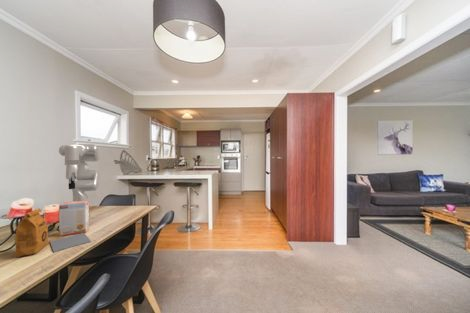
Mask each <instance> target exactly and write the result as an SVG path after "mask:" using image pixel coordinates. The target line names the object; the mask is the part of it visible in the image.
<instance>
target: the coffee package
mask: <svg viewBox="0 0 470 313" xmlns="http://www.w3.org/2000/svg"><path fill="white" fill-rule="evenodd" d="M42 211H43V210H42V209H41V208H36V209H35V210H32V211H29V212H27V213H26V214H25V215H24V216H23V217H22V219H21V220H20V221H19V223H18V224H17V226H16V231H15V244H14V245H15V258H20V257H24V256H28V255H29V256H30V255H33V254H37V253H39V251H41V250H43V249H44V248H46V246H48V244H49V236H48V235H49V234H48V232H49V226H48V222H46V220H45V219H44V218H43V217H42V215H41V213H42Z"/></svg>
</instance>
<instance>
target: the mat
mask: <svg viewBox="0 0 470 313" xmlns="http://www.w3.org/2000/svg"><path fill="white" fill-rule="evenodd" d="M88 243H92V241H91V239H90V238H89V236H88V235H87V234H86V233H80V234H72V235H68V236H66V237H62V238H59V239H54V240H51V241H49V244H50V247H51V249H52V251H53V253H58V252H60V251H64V250H68V249H70V248H74V247H77V246H81V245H85V244H88Z"/></svg>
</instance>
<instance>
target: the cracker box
mask: <svg viewBox="0 0 470 313" xmlns="http://www.w3.org/2000/svg"><path fill="white" fill-rule="evenodd" d="M89 201H90V200H88V201H77V202H73V201H66V202H62V203H60V204H58V205H59V211H58V212H59V214H58V215H59V216H58V217H59V221H58V223H59V224H58V225H59V226H58V227H59V229H58V230H59V231H58V235H59V237H64V236H73V235H77V234H81V233H85V234H86V233H87V232H88V231H89V230H90V224H89V223H90V222H89V221H90V217H89V215H90V214H89V212H90V209H89V208H90V204H89V203H90V202H89Z"/></svg>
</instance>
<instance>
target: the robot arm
mask: <svg viewBox="0 0 470 313" xmlns="http://www.w3.org/2000/svg"><path fill="white" fill-rule="evenodd" d="M58 153H59V155H61V156H62V157H64V166H66V167H65V179H66V180H68V189H69V190H71V191H72V192H71V193H72V202H77V201H89V196H88V194H87V193H86V192H94V191H97V190H98V189H99V183H100V172H99V171H100V170H99V171H98V170H96V169H91V167H90V164H88V162H91V163H92V162H98V161H99V160H100V152H99V149H98V146H97V145H96V144H95V143H94V144H91V143H79V144H62V145H61V146H60V147H59V148H58ZM90 217H91V214H89V218H90Z"/></svg>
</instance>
